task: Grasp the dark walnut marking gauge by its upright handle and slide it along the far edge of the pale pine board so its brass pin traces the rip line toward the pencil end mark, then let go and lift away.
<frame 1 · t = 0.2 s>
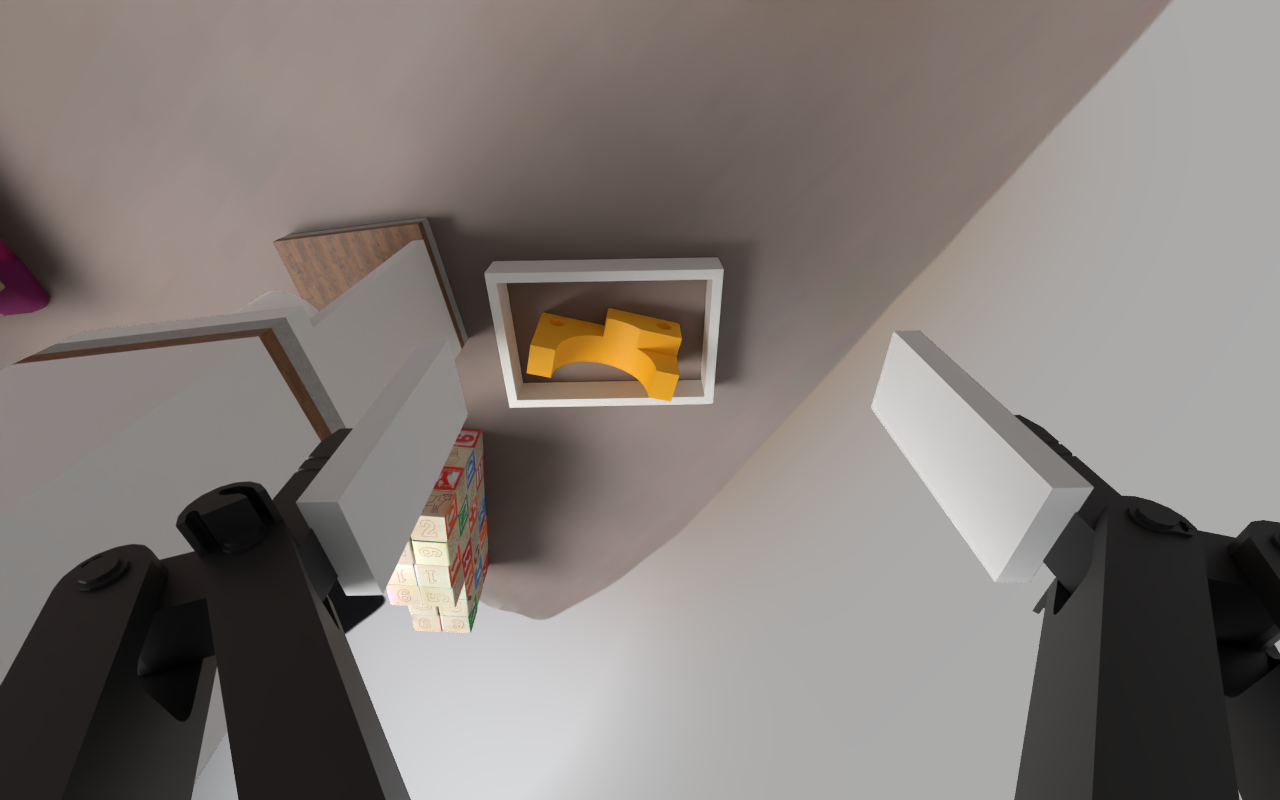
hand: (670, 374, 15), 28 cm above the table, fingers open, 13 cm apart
clamp rest frame: (609, 328, 45), on the table
stack of blocks: (459, 500, 56), on the table
pipe clamp: (608, 328, 45), resting in clamp rest frame
white column with cutout: (384, 288, 42), on the table
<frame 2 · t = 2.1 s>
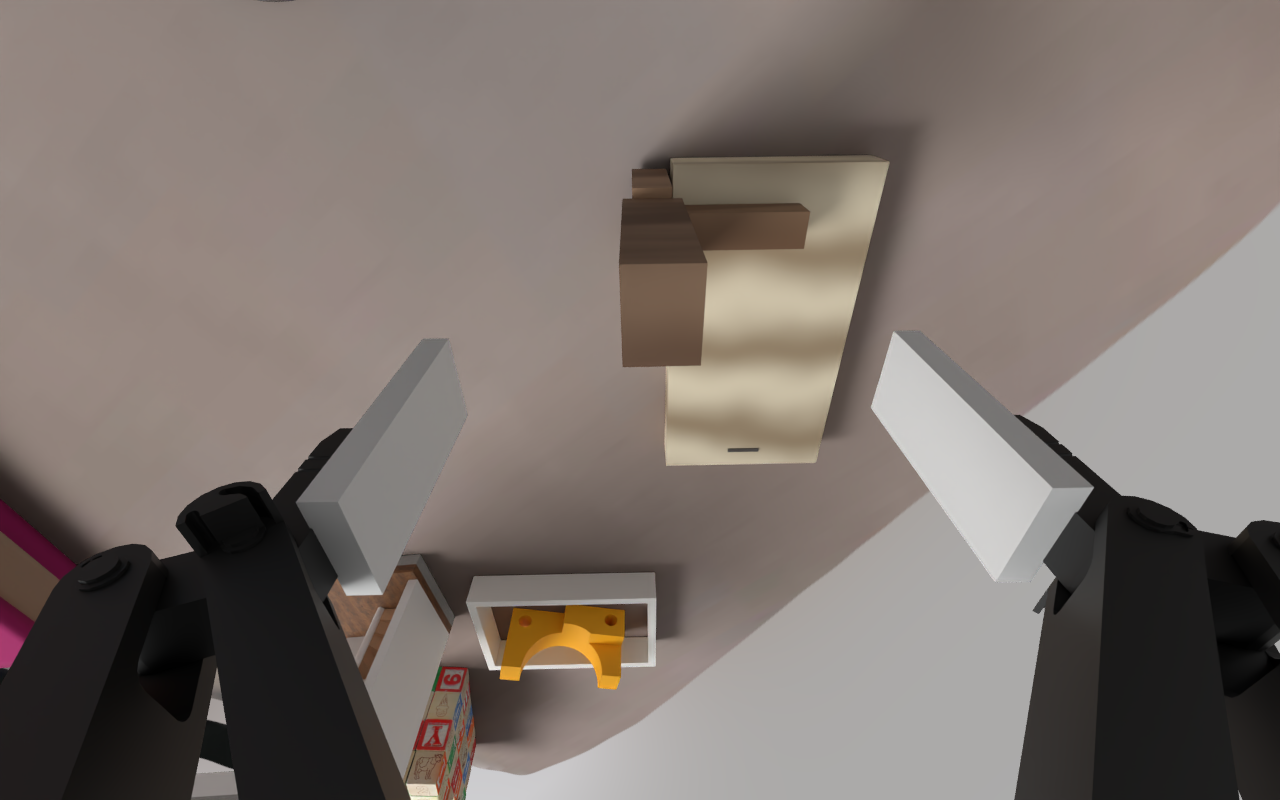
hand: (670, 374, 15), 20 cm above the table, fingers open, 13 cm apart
clamp rest frame: (570, 610, 55), on the table
marking gauge: (725, 250, 24), point 8 cm above the table, slide at 0.0 cm
pine board: (750, 325, 36), on the table
stack of blocks: (450, 705, 67), on the table
pipe clamp: (568, 613, 55), resting in clamp rest frame
white column with cutout: (386, 590, 52), on the table
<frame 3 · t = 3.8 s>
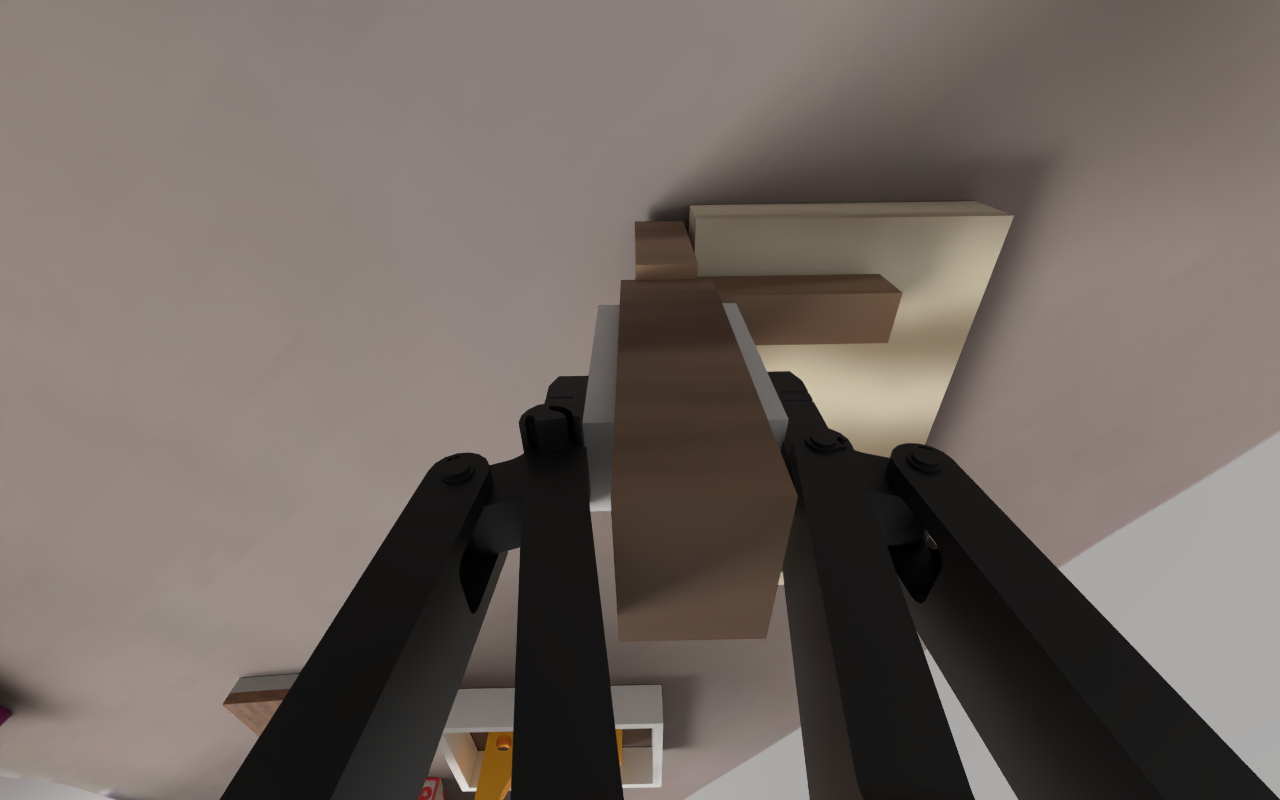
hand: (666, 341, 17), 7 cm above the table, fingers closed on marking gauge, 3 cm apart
clamp rest frame: (559, 722, 46), on the table
marking gauge: (781, 364, 16), point 8 cm above the table, slide at 0.0 cm, touching gripper
pine board: (791, 417, 27), on the table
pipe clamp: (555, 726, 47), resting in clamp rest frame
white column with cutout: (337, 702, 43), on the table
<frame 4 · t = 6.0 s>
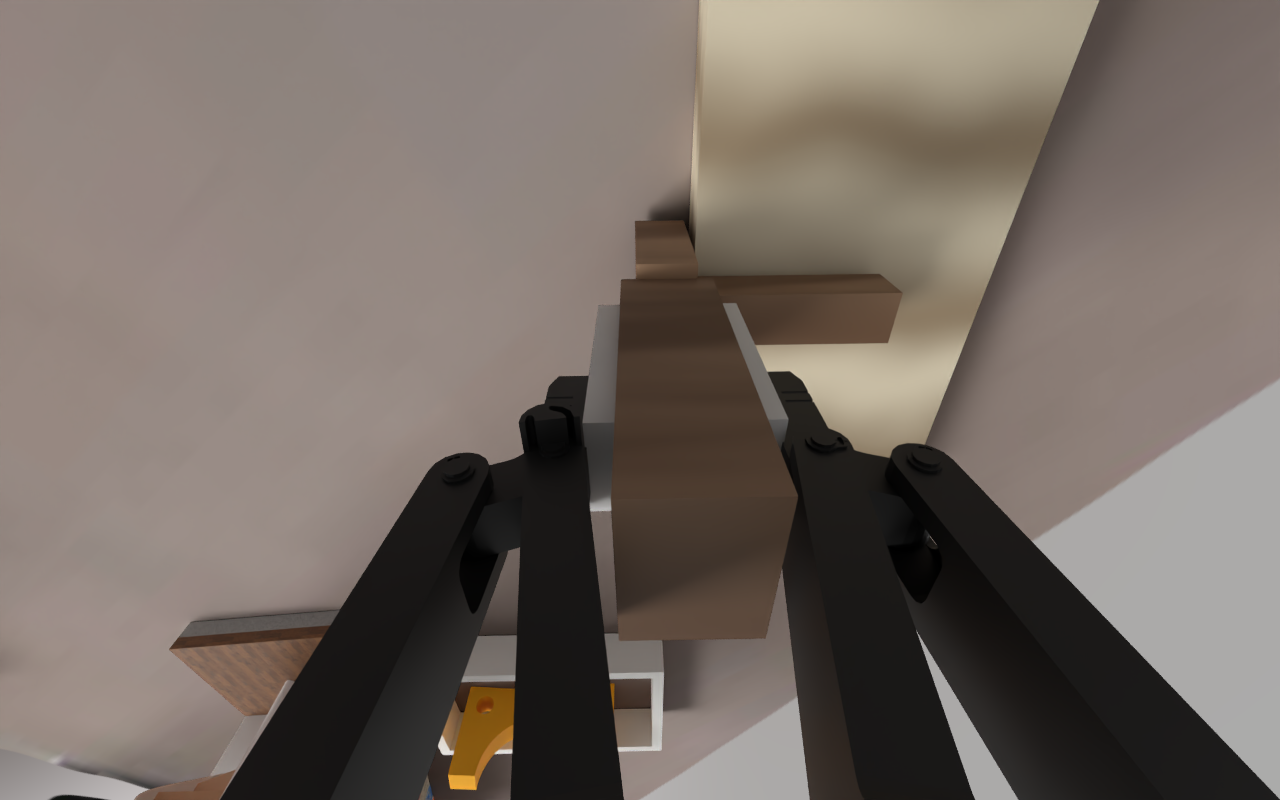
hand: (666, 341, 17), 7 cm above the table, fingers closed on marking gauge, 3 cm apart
clamp rest frame: (548, 678, 41), on the table
marking gauge: (781, 364, 16), point 8 cm above the table, slide at 7.7 cm, touching gripper
pine board: (818, 280, 23), on the table
pipe clamp: (543, 688, 43), resting in clamp rest frame
white column with cutout: (302, 653, 39), on the table
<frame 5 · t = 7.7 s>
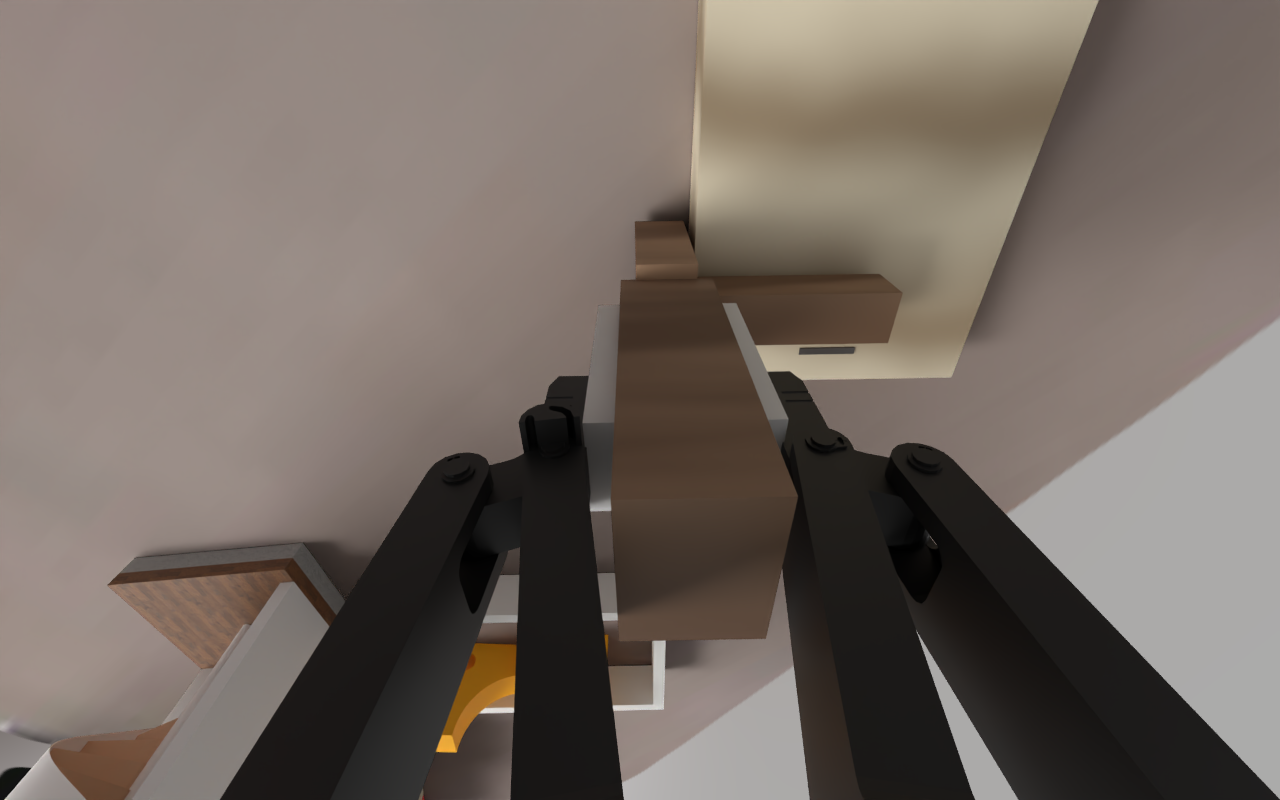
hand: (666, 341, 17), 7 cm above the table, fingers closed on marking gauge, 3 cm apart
clamp rest frame: (538, 628, 37), on the table
marking gauge: (781, 364, 16), point 8 cm above the table, slide at 14.9 cm, touching gripper
pine board: (854, 93, 19), on the table
pipe clamp: (530, 644, 39), resting in clamp rest frame
white column with cutout: (263, 597, 35), on the table
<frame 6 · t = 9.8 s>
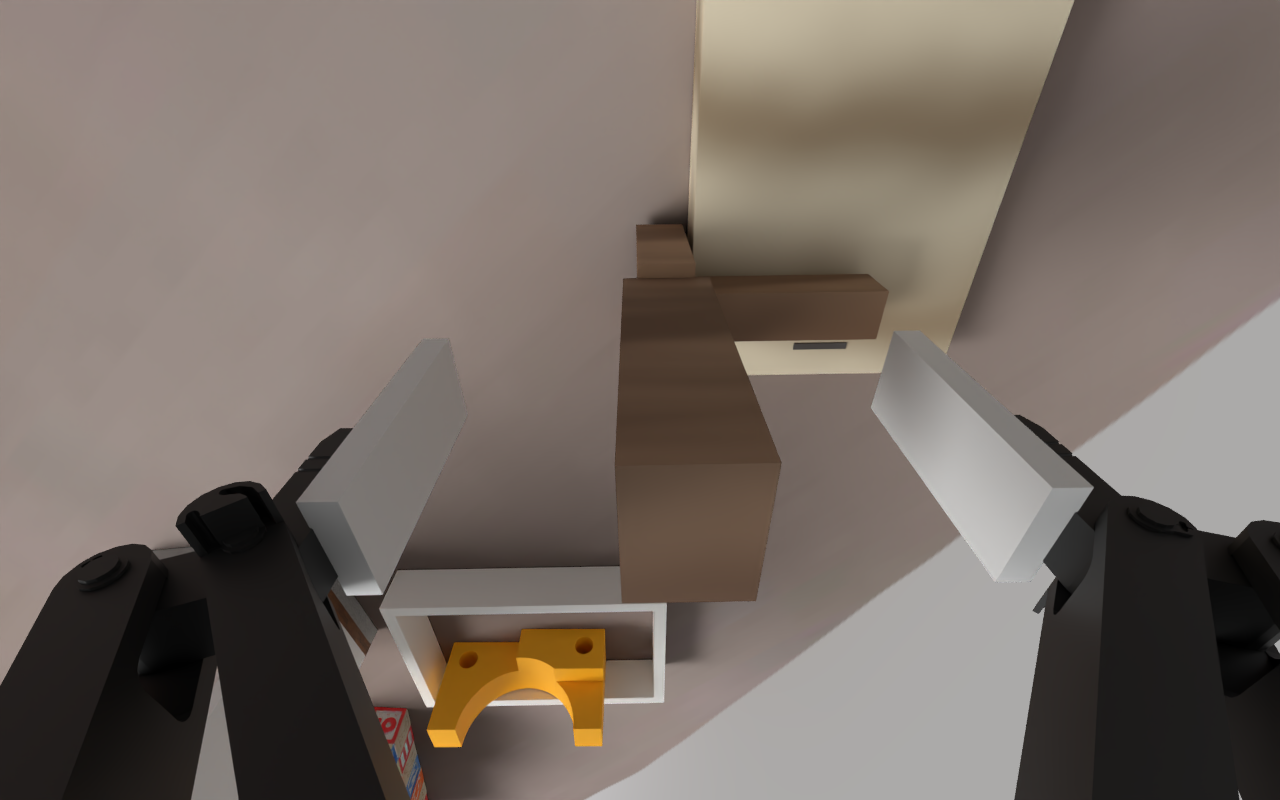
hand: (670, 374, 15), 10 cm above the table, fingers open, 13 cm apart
clamp rest frame: (541, 621, 38), on the table
marking gauge: (774, 357, 17), point 8 cm above the table, slide at 15.0 cm
pine board: (843, 101, 20), on the table
stack of blocks: (390, 755, 51), on the table
pipe clamp: (531, 641, 40), resting in clamp rest frame
white column with cutout: (273, 590, 36), on the table
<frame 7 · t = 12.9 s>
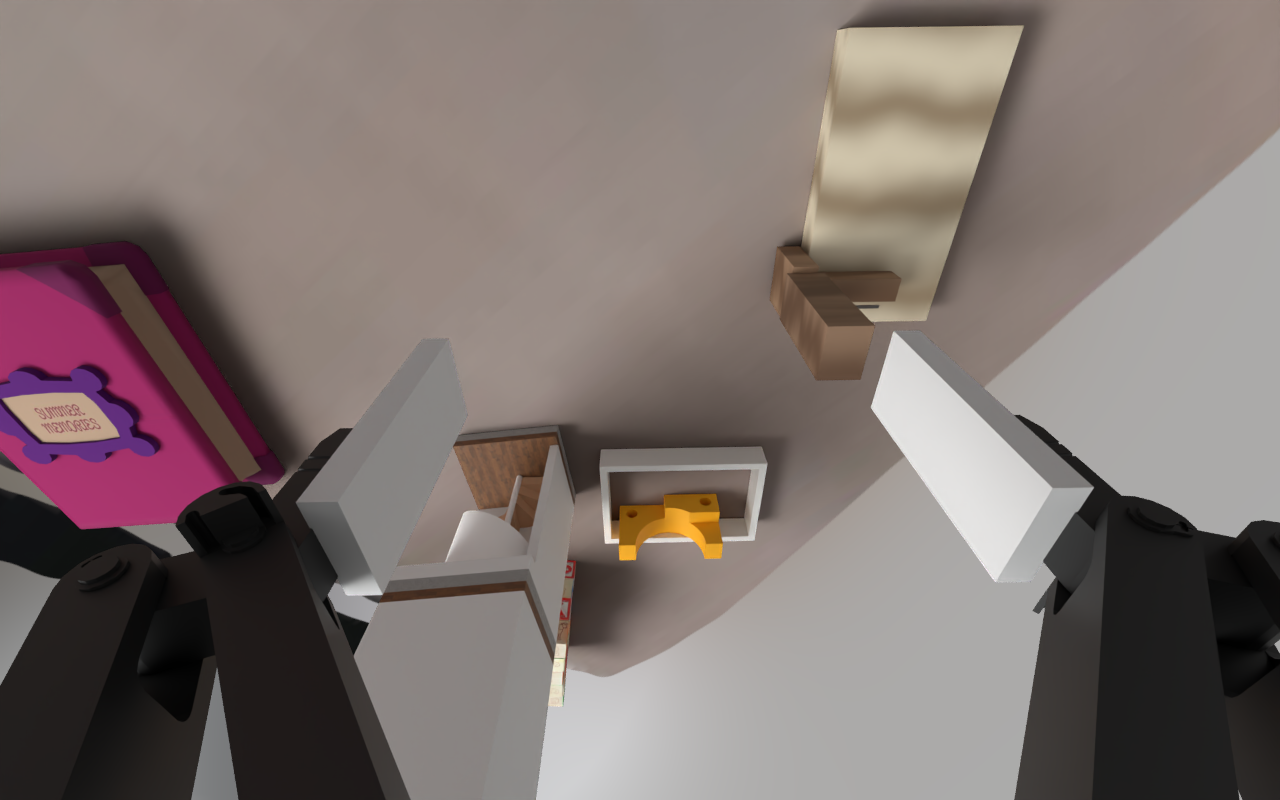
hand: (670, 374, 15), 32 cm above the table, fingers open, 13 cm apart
clamp rest frame: (679, 488, 61), on the table
book: (132, 380, 52), on the table
marking gauge: (853, 306, 39), point 8 cm above the table, slide at 15.0 cm
pine board: (880, 190, 42), on the table
stack of blocks: (551, 603, 74), on the table
pipe clamp: (667, 505, 63), resting in clamp rest frame
white column with cutout: (520, 464, 59), on the table
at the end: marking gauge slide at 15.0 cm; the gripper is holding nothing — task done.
